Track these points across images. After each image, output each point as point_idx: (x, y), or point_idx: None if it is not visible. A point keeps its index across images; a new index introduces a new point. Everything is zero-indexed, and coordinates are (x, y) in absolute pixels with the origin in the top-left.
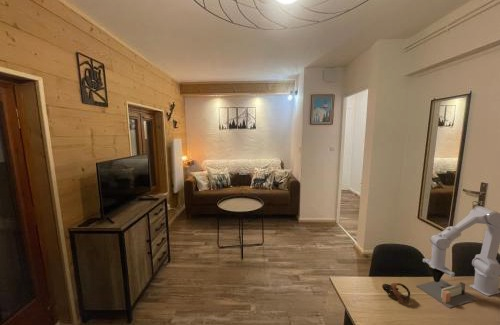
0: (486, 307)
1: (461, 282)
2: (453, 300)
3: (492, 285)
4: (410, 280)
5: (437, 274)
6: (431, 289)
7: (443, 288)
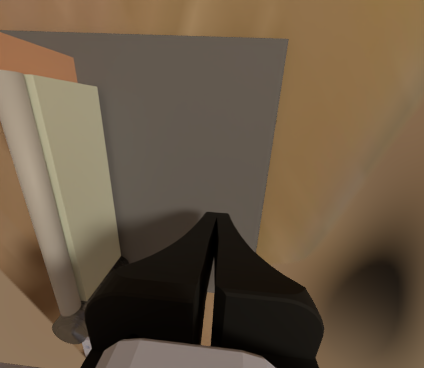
0: (18, 257)
1: (82, 338)
2: None
3: None
4: (367, 77)
5: (153, 259)
6: (199, 124)
7: (2, 88)
